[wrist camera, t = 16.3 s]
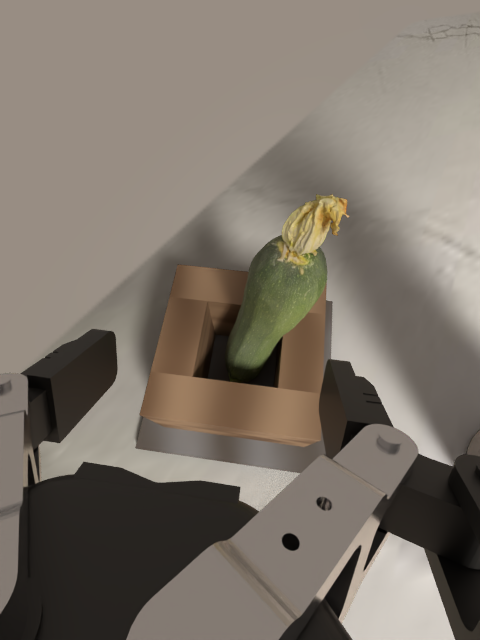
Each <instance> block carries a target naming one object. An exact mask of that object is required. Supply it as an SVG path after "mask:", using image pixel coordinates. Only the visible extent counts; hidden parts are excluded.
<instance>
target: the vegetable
mask: <svg viewBox="0 0 480 640" xmlns="http://www.w3.org/2000/svg"><path fill="white" fill-rule="evenodd" d="M332 195H333V194H331V195H329V196H320V195H317V194H316V200H314V201H310V202H305V205H303V206H300V207H299V208H298V209H296V210H295V211H294V212H293V213H292V214H291V215H290V216H289V218H288V219H287V221H286V222H285V224H284V226H283V229H282V235H281V236H278V237H276V238H274V239H272V240H271V241H270V242H269V243H267V244H266V245H265V246H264V247H263V248H262V249H261V250H260V251H259V252H258V253H257V255H256V256H255V257H254V259H253V261H252V263H251V266H250V269H249V272H248V278H247V283H246V286H245V289H244V296H243V301H242V304H241V308H240V311H239V314H238V317H237V320H236V322H235V325H234V327H233V329H232V331H231V333H230V336H229V338H228V342H227V346H226V351H225V365H226V369H227V371H228V374H229V379H230V382H236V383H241V382H249V381H250V380H251V379H254V378H256V377H257V376H258V375H259V373H260V372H261V370H262V368H263V366H264V365H265V363H266V362H267V360H268V358H269V357H270V355H271V353H272V351H273V350H274V348H275V346H276V344H277V343H278V341H279V340H280V338H281V337H282V336H283V335H285V334H286V333H288V332H289V331H290V330H292V329H293V328H294V327H295V326H296V325H297V324H298V323H299V322H300V321H301V320H302V319H303V318H304V317H305V316H306V314H307V313H308V312H309V311H310V309H311V308H312V307H313V305H314V304H315V303H316V301H317V300H318V299H319V297H320V295H321V294H322V292H323V290H324V288H325V285H326V282H327V265H326V259H325V256H324V253H323V251H322V250H321V248H320V247H319V246H321V245H322V243H323V241H324V240H325V238H326V235H327V232H328V231H329V227H331V229H332V234H333V235H337V232H338V230H339V227H338V224H339V223H340V220H341V216H342V214H343V215H346V216H347V218H348V217H349V216H348V215H347V214H346V207H347V199H343V198H338V197H336V198H335V197H334V196H332ZM332 220H333V223H332V222H331V221H332ZM330 222H331V225H330ZM337 236H338V235H337Z"/></svg>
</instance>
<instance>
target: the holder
mask: <svg viewBox="0 0 480 640" xmlns="http://www.w3.org/2000/svg"><path fill="white" fill-rule="evenodd" d="M247 278H248V272H245V271H235V270H225V269H216V268H206V267H197V266H187V265H178V266H177V269H176V273H175V277H174V281H173V285H172V289H171V293H170V297H169V301H168V305H167V309H166V313H165V317H164V321H163V325H162V329H161V333H160V337H159V341H158V344H157V348H156V352H155V356H154V360H153V364H152V368H151V372H150V376H149V380H148V384H147V388H146V392H145V396H144V400H143V404H142V408H141V412H140V415H141V416H143V420H142V424H141V428H140V432H139V436H138V440H137V444H136V448H137V449H143V450H150V451H157V452H163V453H170V454H177V455H183V456H190V457H197V458H203V459H210V460H217V461H223V462H230V463H237V464H243V465H250V466H257V467H263V468H270V469H277V470H283V471H290V472H297V473H302V472H303V471H304V470H305V469H306V468H307V467H308V466H309V465H310V464H311V463H312V462H313V461H315V460H316V459H317V458H318V457H319V456H321V455H323V454H325V455H326V452H325V446H324V440H323V434H322V428H321V422H320V416H319V398H320V393H321V388H322V383H323V377H324V372H325V367H326V363H327V361H328V359H331V334H332V301H326V285H325V288H324V290H323V292H322V294H321V295H320V297H319V299H318V300H317V301H316V303H315V304H314V305H313V307H312V308H311V309H310V311H309V312H308V313H307V314H306V316H305V317H304V318H303V319H302V320H301V321H300V322H299V323H298V324H297V325H296V326H295V327H294V328H293V329H292V330H290V331H289V332H288V333H286V334H285V335H283V336H282V337H281V338H280V340H279V341H278V343H277V344H276V346H275V348H274V350H273V351H272V353H271V355H270V357H269V358H268V360H267V362H266V363H265V365H264V366H263V368H262V370H261V372H260V373H259V375H258V376H257V377H256V378H254V379H251V380H250V381H249V382H241V383H236V382H230V379H229V374H228V371H227V369H226V365H225V351H226V346H227V342H228V338H229V336H230V333H231V331H232V329H233V327H234V325H235V322H236V320H237V317H238V314H239V311H240V308H241V304H242V301H243V296H244V289H245V286H246V283H247ZM326 283H327V282H326Z"/></svg>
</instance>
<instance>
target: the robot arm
mask: <svg viewBox="0 0 480 640" xmlns="http://www.w3.org/2000/svg"><path fill="white" fill-rule="evenodd" d="M116 375H117V353H116V337H115V334H114V332H112V331H105V330H97V329H91V330H90V331H88V332H87V333H85V334H84V335H83V336H81V337H80V338H78V339H77V340H74V341H71V342H69V343H66V344H63V345H62V346H60V347H59V348H57V349H56V350H54V351H53V353H50V354H48V355H47V356H46V357H45V358H43V359H41V360H40V361H38V362H37V363H35V364H34V365H32V366H31V367H29V368H28V369H26V370H25V371H24V372H22V373H21V374H18V373H4V374H0V640H352V638H351V637H350V635H349V634H348V633H347V631H346V630H345V628H344V627H343V625H342V622H343V620H344V618H345V617H346V615H347V613H348V611H349V609H350V606H351V604H352V602H353V600H354V597H355V595H356V593H357V591H358V589H359V587H360V585H361V583H362V581H363V579H364V578H365V576H366V574H367V572H368V571H369V569H370V567H371V566H372V564H373V562H374V560H375V559H376V557H377V555H378V553H379V552H380V550H381V548H382V547H383V545H384V543H385V541H386V540H387V538H388V536H389V535H390V533H392V534H394V535H396V536H398V537H401V538H403V539H405V540H407V541H409V542H412V543H414V544H416V545H418V546H420V547H423V548H424V550H425V553H426V555H427V558H428V561H429V564H430V567H431V570H432V573H433V576H434V579H435V582H436V585H437V588H438V591H439V593H440V596H441V599H442V602H443V605H444V608H445V611H446V614H447V617H448V620H449V623H450V626H451V629H452V631H453V634H454V637H455V640H480V430H479V431H478V432H477V433H476V435H475V436H474V437H473V438H472V440H471V442H470V444H469V446H468V450H467V455H461V456H459V457H458V458H457V459H456V461H455V463H454V465H453V467H452V466H449V465H446V464H444V463H441V462H438V461H435V460H432V459H430V458H427V457H425V456H422V455H420V454H418V448H417V446H416V444H415V442H414V441H413V440H412V439H411V438H410V437H409V436H408V435H406V434H405V433H403V432H402V431H400V430H398V429H396V428H394V427H393V425H392V423H391V421H390V419H389V417H388V415H387V413H386V411H385V408H384V406H383V405H382V402H381V400H380V398H379V397H378V394H377V392H376V390H375V388H374V386H373V385H372V384H371V383H370V382H369V381H368V380H366V379H365V378H364V377H359V376H355V373H354V371H353V368H352V366H351V363H350V362H348V361H340V360H332V359H328V361H327V363H326V367H325V372H324V377H323V383H322V388H321V393H320V398H319V416H320V422H321V428H322V434H323V440H324V446H325V452H326V455H325V454H323V455H321V456H319V457H318V458H317V459H316V460H315V461H313V462H312V463H311V464H310V465H309V466H308V467H307V468H306V469H305V470H304V471H303V472H302V473H301V474H300V475H298V476H297V477H296V478H295V479H294V480H293V481H292V482H291V483H290V484H289V485H288V486H287V487H286V488H284V489H283V490H282V491H281V492H280V493H279V494H278V495H277V496H276V497H275V498H274V499H273V500H272V501H271V502H269V503H268V504H267V505H266V506H265V507H264V508H263V509H262V510H261V511H260V512H259V511H257V510H256V509H255V508H253V507H251V506H249V505H248V504H246V503H243V502H241V501H239V494H240V487H237V486H231V485H225V484H219V483H213V482H206V481H184V482H166V483H157V482H153V481H151V480H148V479H146V478H144V477H141V476H139V475H137V474H134V473H132V472H130V471H127V470H125V469H123V468H119V467H113V466H107V465H100V464H94V463H88V462H83V464H82V465H81V466H80V468H79V469H78V470H77V472H76V473H75V474H73V475H65V476H59V477H55V478H50V479H47V480H44V481H42V477H41V455H40V448H39V444H40V443H41V442H42V441H49V442H56V443H60V442H61V441H62V440H63V439H64V438H65V437H66V436H67V435H68V434H69V432H70V431H71V430H72V429H73V428H74V427H75V426H76V425H77V423H78V422H79V421H80V420H81V419H82V418H83V417H84V416H85V415H86V413H87V412H88V411H89V410H90V409H91V408H92V407H93V406H94V405H95V403H96V402H97V401H98V400H99V399H100V398H101V397H102V396H103V394H104V393H105V392H106V391H107V390H108V389H109V388H110V387H111V386H112V384H113V383H114V381H115V379H116Z"/></svg>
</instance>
